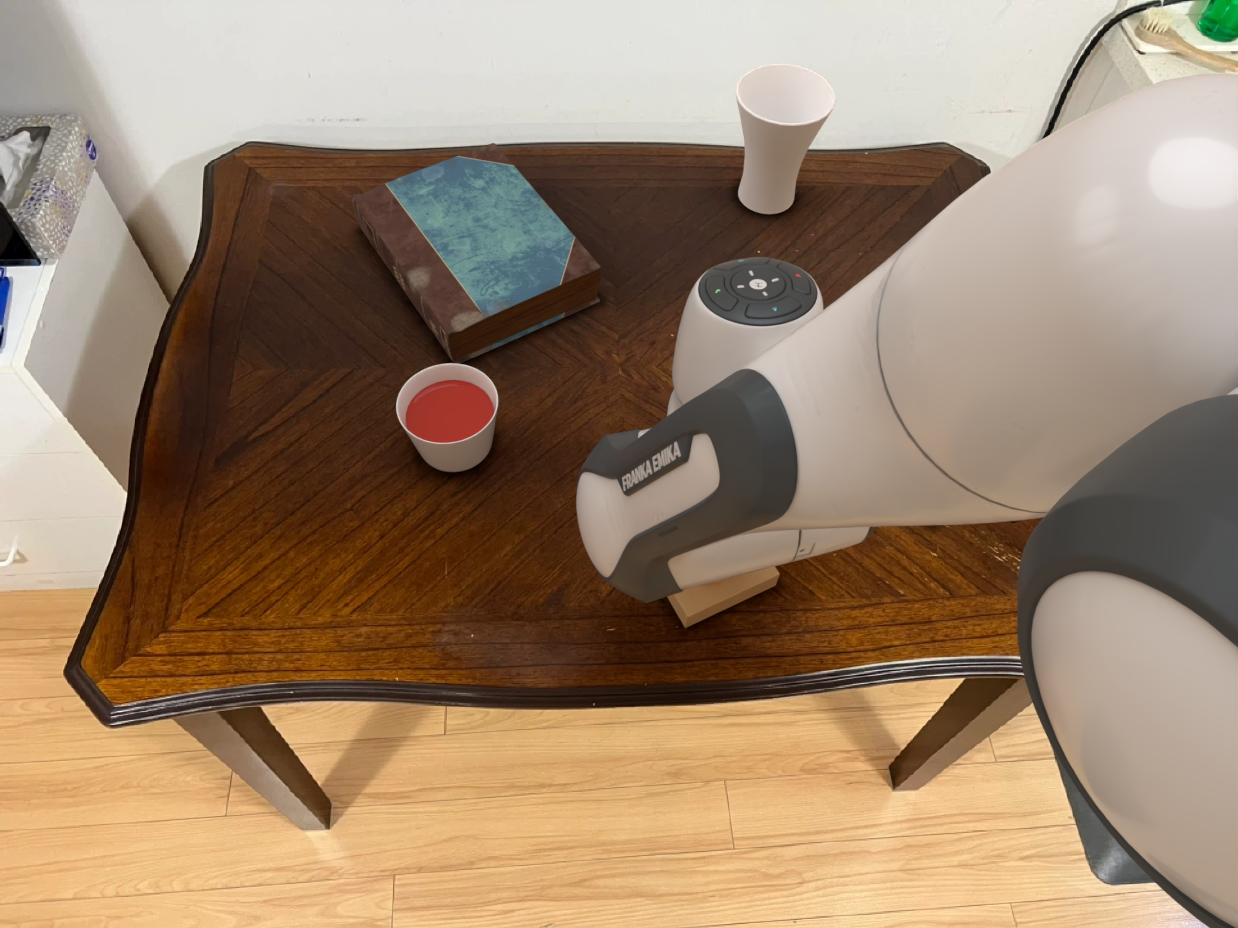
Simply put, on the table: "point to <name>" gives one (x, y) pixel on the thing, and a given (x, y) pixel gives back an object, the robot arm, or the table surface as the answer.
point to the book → (477, 251)
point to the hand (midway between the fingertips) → (706, 534)
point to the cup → (778, 130)
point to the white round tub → (449, 415)
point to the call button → (720, 595)
